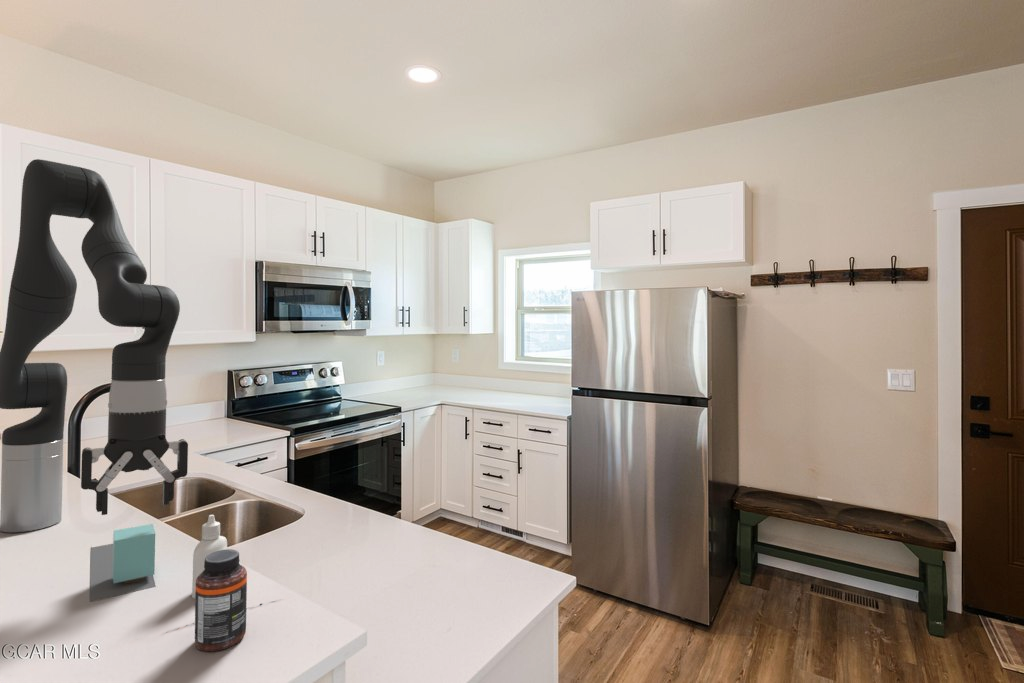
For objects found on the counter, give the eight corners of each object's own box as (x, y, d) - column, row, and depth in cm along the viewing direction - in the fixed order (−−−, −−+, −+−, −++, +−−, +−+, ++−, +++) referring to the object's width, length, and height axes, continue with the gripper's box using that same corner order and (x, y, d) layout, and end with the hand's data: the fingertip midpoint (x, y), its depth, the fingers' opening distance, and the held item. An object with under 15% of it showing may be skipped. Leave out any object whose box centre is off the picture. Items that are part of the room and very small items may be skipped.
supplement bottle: (208, 627, 70) (210, 545, 70) (253, 626, 71) (255, 545, 71) (184, 654, 64) (186, 564, 64) (233, 653, 65) (235, 564, 65)
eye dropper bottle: (235, 588, 81) (237, 513, 81) (198, 603, 76) (200, 523, 76) (220, 581, 83) (221, 507, 83) (183, 595, 78) (185, 517, 78)
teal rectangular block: (112, 571, 83) (113, 530, 83) (151, 562, 86) (152, 523, 86) (113, 583, 79) (114, 540, 79) (154, 574, 82) (155, 533, 82)
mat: (90, 549, 94) (90, 547, 94) (144, 539, 99) (144, 537, 99) (89, 604, 75) (89, 601, 75) (155, 588, 80) (155, 586, 80)
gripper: (187, 402, 90) (184, 495, 90) (80, 407, 81) (78, 510, 81) (193, 407, 84) (191, 506, 84) (79, 413, 75) (76, 525, 75)
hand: (135, 508), depth 83 cm, fingers open, 7 cm apart
